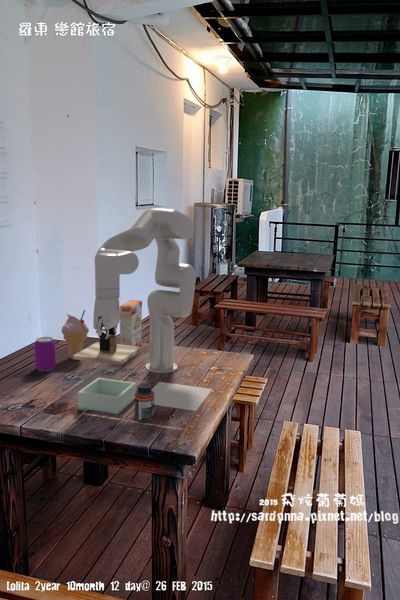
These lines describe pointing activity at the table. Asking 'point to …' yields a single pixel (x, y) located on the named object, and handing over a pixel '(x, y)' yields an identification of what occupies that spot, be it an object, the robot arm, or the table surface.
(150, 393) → the supplement bottle
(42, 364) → the beverage can
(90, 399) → the mint green open box
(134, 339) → the cracker box
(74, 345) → the ice cream cone
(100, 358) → the cover
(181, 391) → the mat
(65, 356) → the table surface
